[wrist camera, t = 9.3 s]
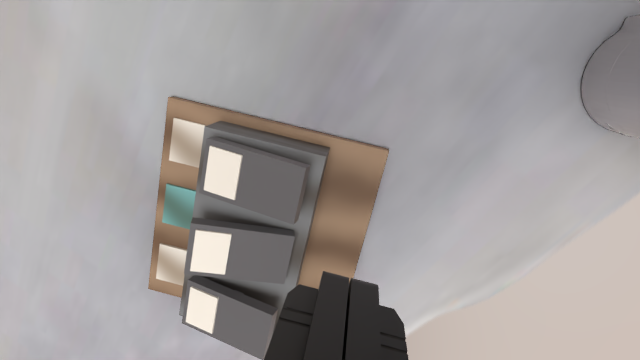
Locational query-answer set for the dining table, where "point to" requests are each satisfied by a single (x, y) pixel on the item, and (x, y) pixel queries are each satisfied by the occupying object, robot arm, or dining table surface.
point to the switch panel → (331, 208)
